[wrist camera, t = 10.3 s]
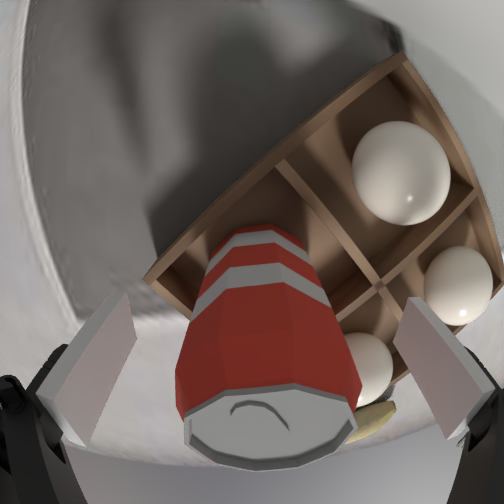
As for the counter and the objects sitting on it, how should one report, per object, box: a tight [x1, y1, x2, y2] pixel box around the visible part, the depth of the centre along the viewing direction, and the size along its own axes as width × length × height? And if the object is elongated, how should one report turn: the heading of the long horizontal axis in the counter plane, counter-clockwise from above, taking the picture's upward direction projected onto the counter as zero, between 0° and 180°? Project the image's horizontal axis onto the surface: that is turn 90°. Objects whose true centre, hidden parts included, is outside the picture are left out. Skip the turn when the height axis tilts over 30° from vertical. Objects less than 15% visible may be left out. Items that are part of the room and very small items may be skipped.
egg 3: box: [423, 246, 493, 326], centre depth 15 cm, size 6×6×6 cm
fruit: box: [345, 401, 396, 444], centre depth 24 cm, size 7×15×3 cm, turn 80°
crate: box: [143, 51, 504, 408], centre depth 17 cm, size 20×20×3 cm
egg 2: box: [352, 121, 451, 225], centre depth 13 cm, size 6×6×6 cm
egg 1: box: [344, 332, 393, 407], centre depth 18 cm, size 6×6×6 cm
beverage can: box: [175, 224, 363, 472], centre depth 12 cm, size 6×6×12 cm
